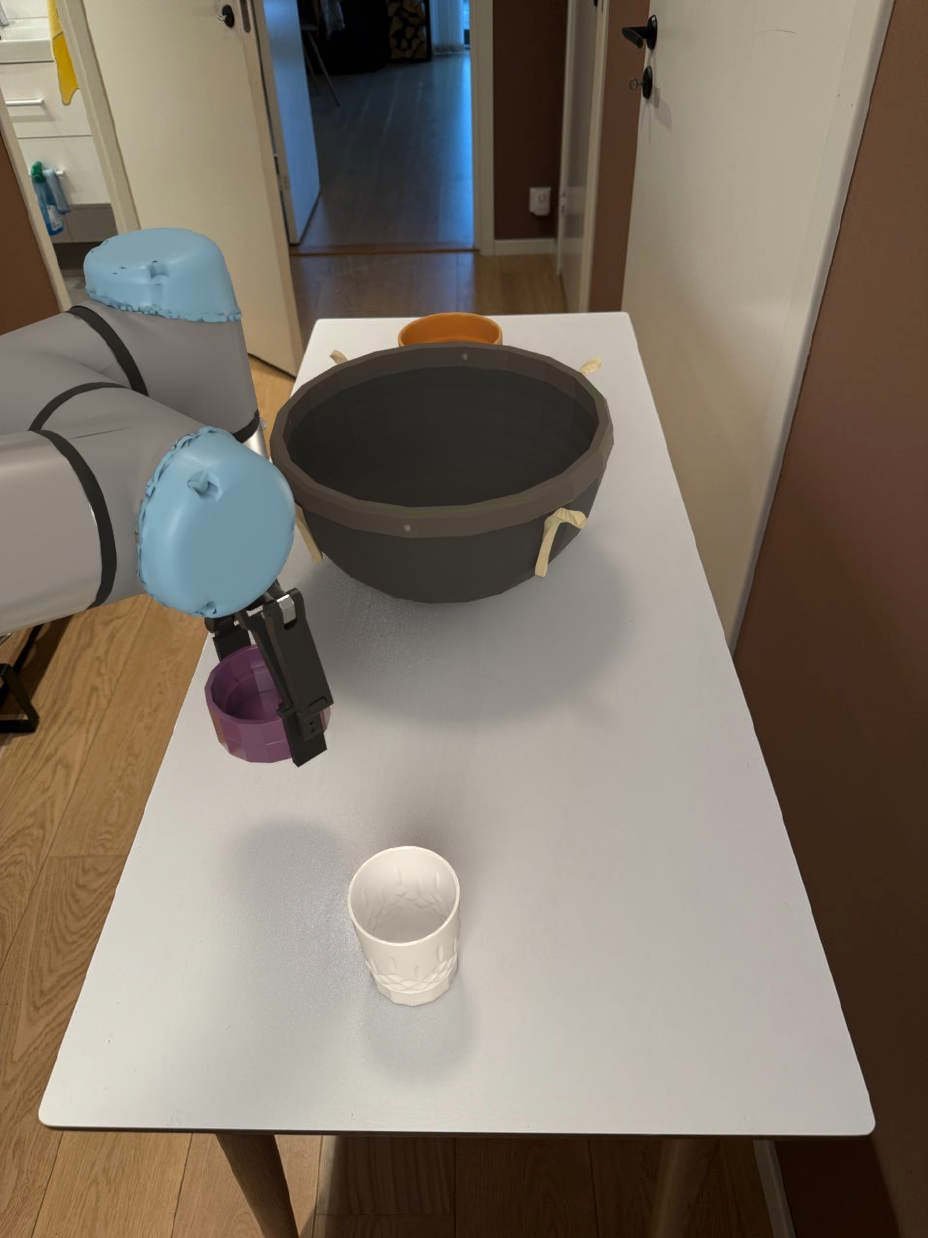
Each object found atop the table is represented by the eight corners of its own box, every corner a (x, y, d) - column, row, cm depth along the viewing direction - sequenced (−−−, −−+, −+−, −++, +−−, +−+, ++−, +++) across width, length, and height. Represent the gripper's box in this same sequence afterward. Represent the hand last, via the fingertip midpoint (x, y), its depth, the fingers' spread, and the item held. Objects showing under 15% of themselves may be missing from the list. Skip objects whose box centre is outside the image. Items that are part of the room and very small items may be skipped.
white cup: (466, 1013, 68) (460, 943, 62) (359, 1016, 68) (342, 947, 62) (464, 916, 74) (458, 843, 67) (366, 920, 74) (351, 847, 68)
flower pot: (397, 443, 129) (388, 356, 120) (414, 394, 139) (407, 310, 131) (498, 446, 127) (496, 358, 119) (507, 396, 138) (507, 312, 129)
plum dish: (255, 787, 70) (242, 743, 66) (198, 722, 75) (183, 678, 72) (352, 727, 74) (345, 683, 71) (292, 669, 79) (282, 625, 76)
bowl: (341, 477, 123) (319, 334, 110) (609, 490, 118) (620, 342, 105) (257, 662, 97) (215, 505, 84) (597, 689, 92) (609, 526, 79)
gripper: (360, 534, 55) (395, 775, 70) (187, 406, 68) (248, 633, 83) (251, 590, 51) (312, 831, 66) (90, 444, 64) (172, 673, 79)
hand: (276, 721), depth 74 cm, fingers closed on plum dish, 9 cm apart
